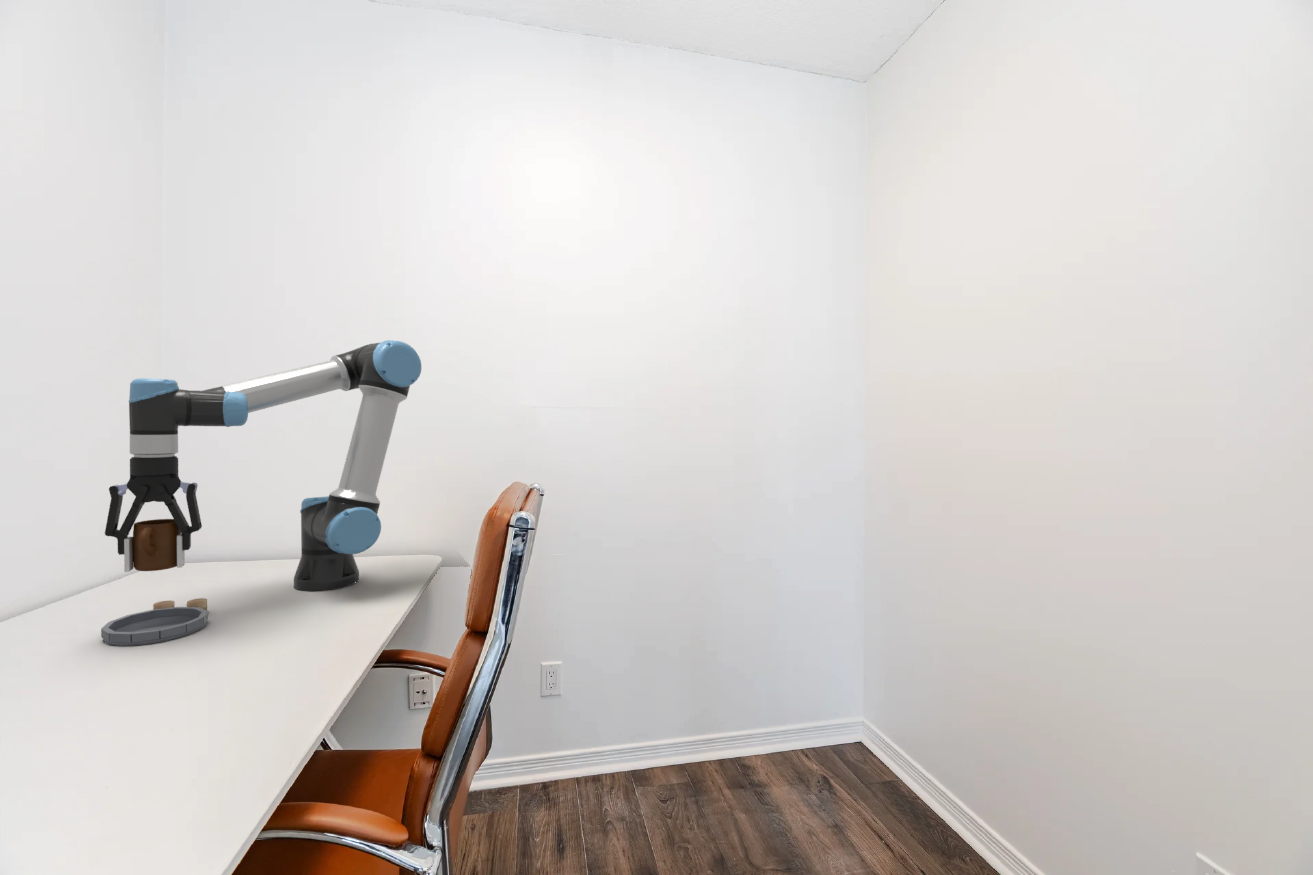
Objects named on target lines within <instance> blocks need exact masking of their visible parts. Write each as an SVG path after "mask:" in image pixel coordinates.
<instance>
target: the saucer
mask: <svg viewBox="0 0 1313 875" xmlns="http://www.w3.org/2000/svg"><path fill="white" fill-rule="evenodd" d="M208 619H209V610H208V609H207V610H205V609H202V608H200V607H187V606H175V607H171V608H162V609H155V610H154V609H153V608H152V609H150V610H144V611H140V612H136V613H132V614H131V613H130V614H127V615H124V616H122V617H118V618H116V619H112V620H110V621H108V622H107V623H106V624H104V625H103V626H102V627H101V628H100V634H101V635H100V638H102V639H103V642H104V643H105V644H106V645H109V646H114V647H134V646H135V647H136V646H146V645H152V644H159V643H163V642H169V641H172V640H175V639H176V640H177V639H180V638H183V637H186V636H190V635H191V634H195V633H197V632H198V631H200V630H202V629H203V628H204V627H206V624H207V621H208Z"/></svg>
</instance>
